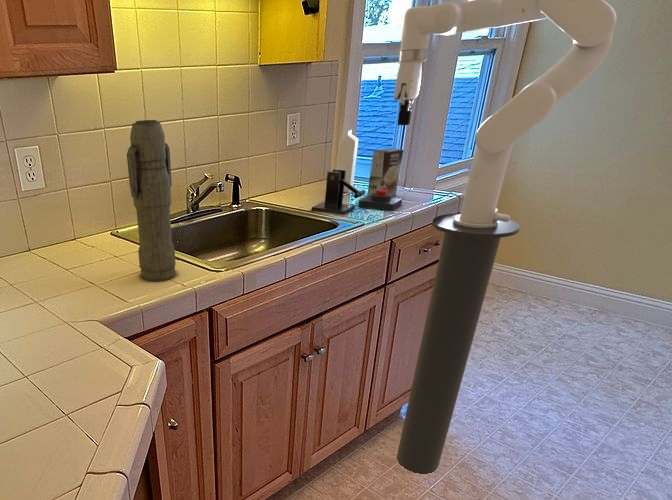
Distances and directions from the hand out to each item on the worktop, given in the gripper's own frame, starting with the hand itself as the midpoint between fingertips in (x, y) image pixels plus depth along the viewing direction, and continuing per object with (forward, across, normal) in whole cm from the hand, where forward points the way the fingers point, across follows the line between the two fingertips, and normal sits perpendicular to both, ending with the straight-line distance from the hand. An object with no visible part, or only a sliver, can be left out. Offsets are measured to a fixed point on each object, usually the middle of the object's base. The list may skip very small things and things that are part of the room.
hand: (403, 124), depth 158 cm
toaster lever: (+18, +9, -14) cm, 25 cm away
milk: (+26, -21, -26) cm, 42 cm away
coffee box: (+26, -19, -10) cm, 34 cm away
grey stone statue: (+26, +90, -29) cm, 98 cm away
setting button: (+23, -3, -5) cm, 23 cm away
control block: (+26, -3, -5) cm, 27 cm away
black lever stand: (+26, +9, -17) cm, 33 cm away
